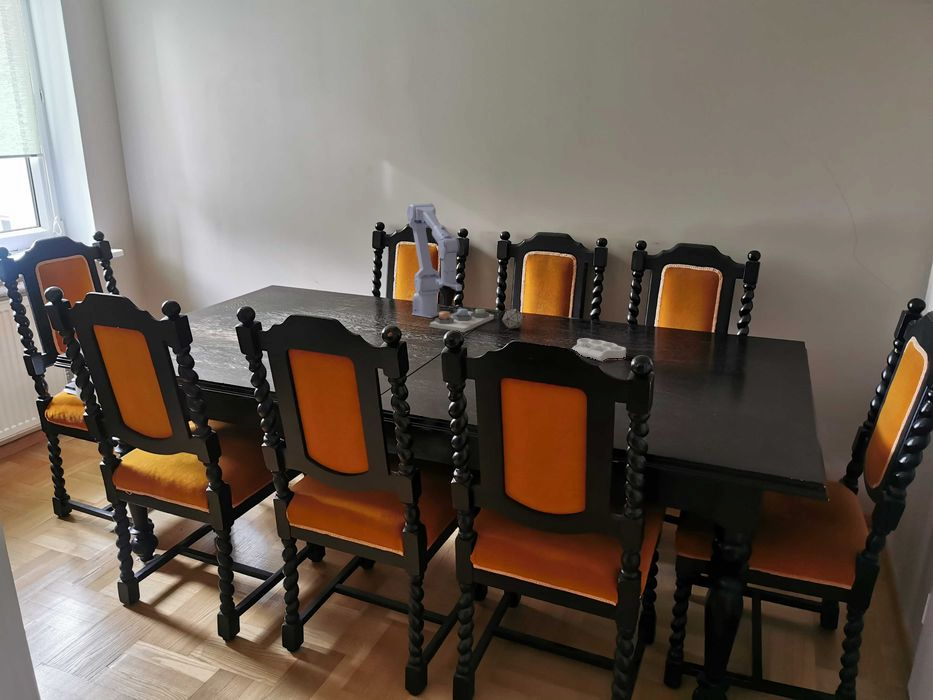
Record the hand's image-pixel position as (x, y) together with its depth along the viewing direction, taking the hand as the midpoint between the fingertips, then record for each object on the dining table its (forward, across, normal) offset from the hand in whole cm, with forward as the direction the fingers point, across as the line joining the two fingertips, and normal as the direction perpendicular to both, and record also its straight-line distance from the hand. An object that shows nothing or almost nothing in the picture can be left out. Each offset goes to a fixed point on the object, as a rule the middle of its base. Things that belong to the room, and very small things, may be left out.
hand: (448, 306), depth 263 cm
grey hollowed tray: (+8, +58, +22) cm, 62 cm away
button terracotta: (+4, 0, -2) cm, 5 cm away
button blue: (+4, 0, +7) cm, 8 cm away
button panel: (+7, 0, +7) cm, 10 cm away
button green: (+6, 0, +15) cm, 16 cm away
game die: (+8, +18, +17) cm, 26 cm away
